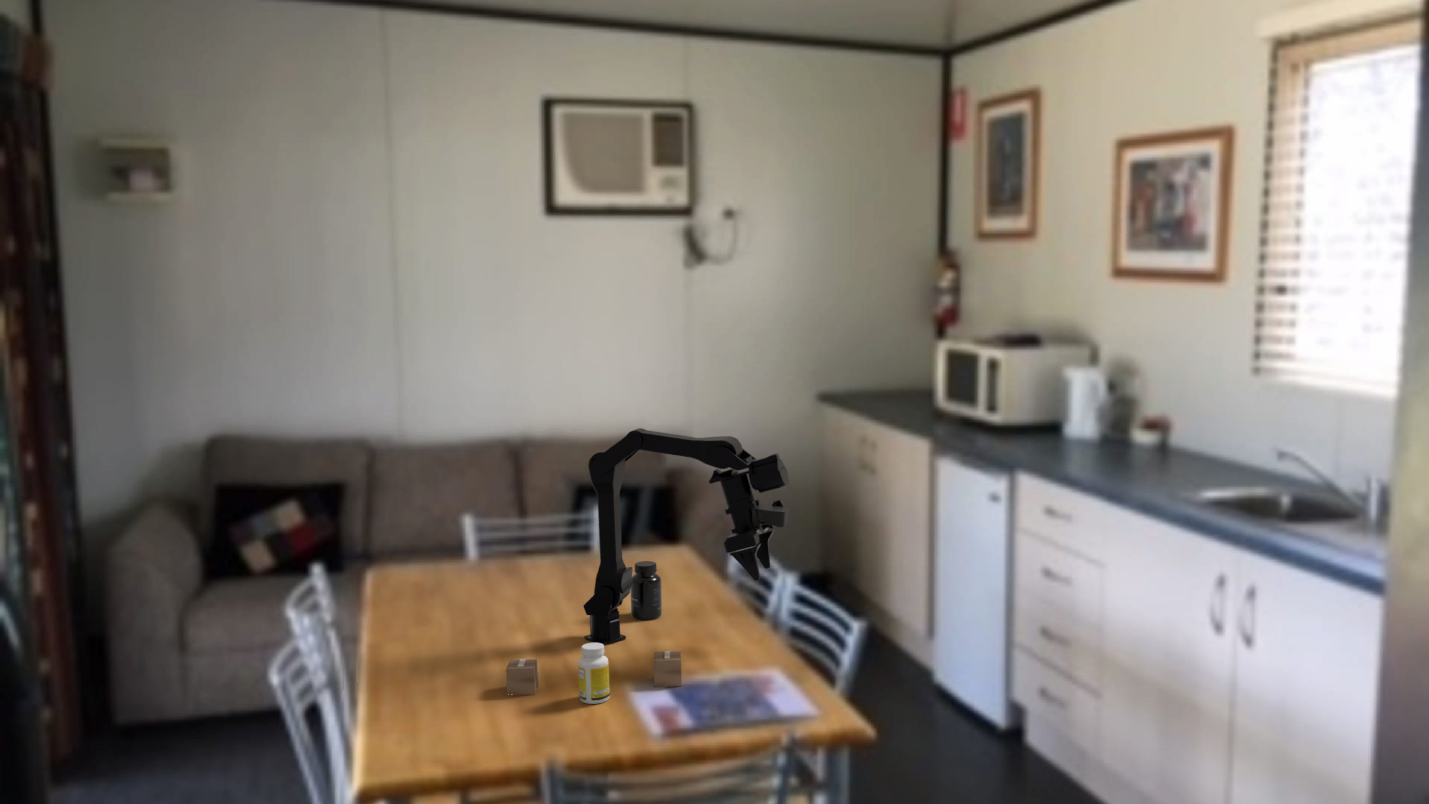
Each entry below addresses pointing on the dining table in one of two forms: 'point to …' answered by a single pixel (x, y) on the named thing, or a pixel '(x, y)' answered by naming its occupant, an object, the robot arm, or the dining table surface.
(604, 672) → the supplement bottle
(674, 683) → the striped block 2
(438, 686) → the dining table surface
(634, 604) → the supplement bottle
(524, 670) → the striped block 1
